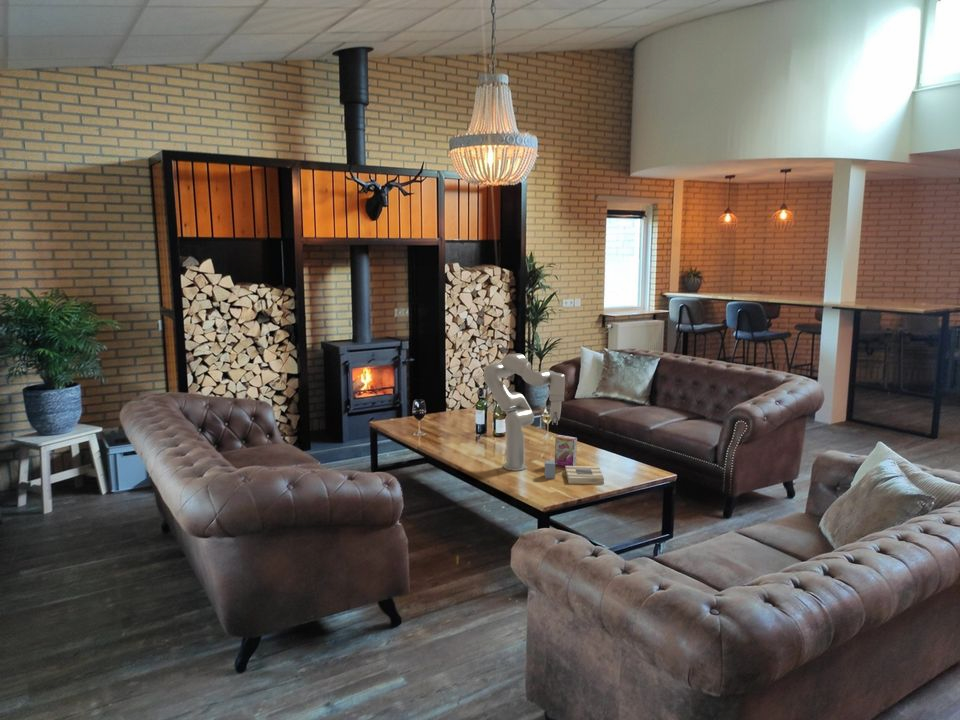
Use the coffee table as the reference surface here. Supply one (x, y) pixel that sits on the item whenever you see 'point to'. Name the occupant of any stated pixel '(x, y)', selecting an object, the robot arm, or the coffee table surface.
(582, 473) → the birch base
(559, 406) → the robot arm
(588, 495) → the coffee table surface
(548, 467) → the slate block
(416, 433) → the coffee table surface
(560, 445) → the candy bar box
